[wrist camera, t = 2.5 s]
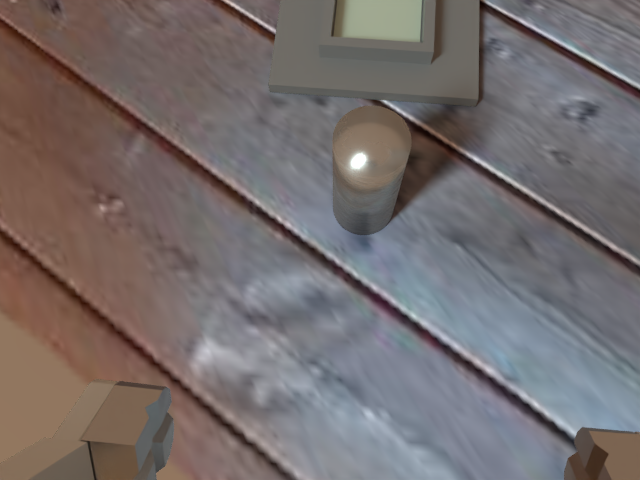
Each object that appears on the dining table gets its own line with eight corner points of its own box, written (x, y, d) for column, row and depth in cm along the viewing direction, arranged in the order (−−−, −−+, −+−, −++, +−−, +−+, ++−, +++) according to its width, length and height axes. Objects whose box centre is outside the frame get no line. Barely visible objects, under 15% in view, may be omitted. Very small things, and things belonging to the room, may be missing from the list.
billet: (395, 181, 41) (413, 108, 31) (391, 237, 40) (409, 179, 30) (335, 176, 41) (336, 103, 32) (330, 232, 40) (329, 173, 30)
